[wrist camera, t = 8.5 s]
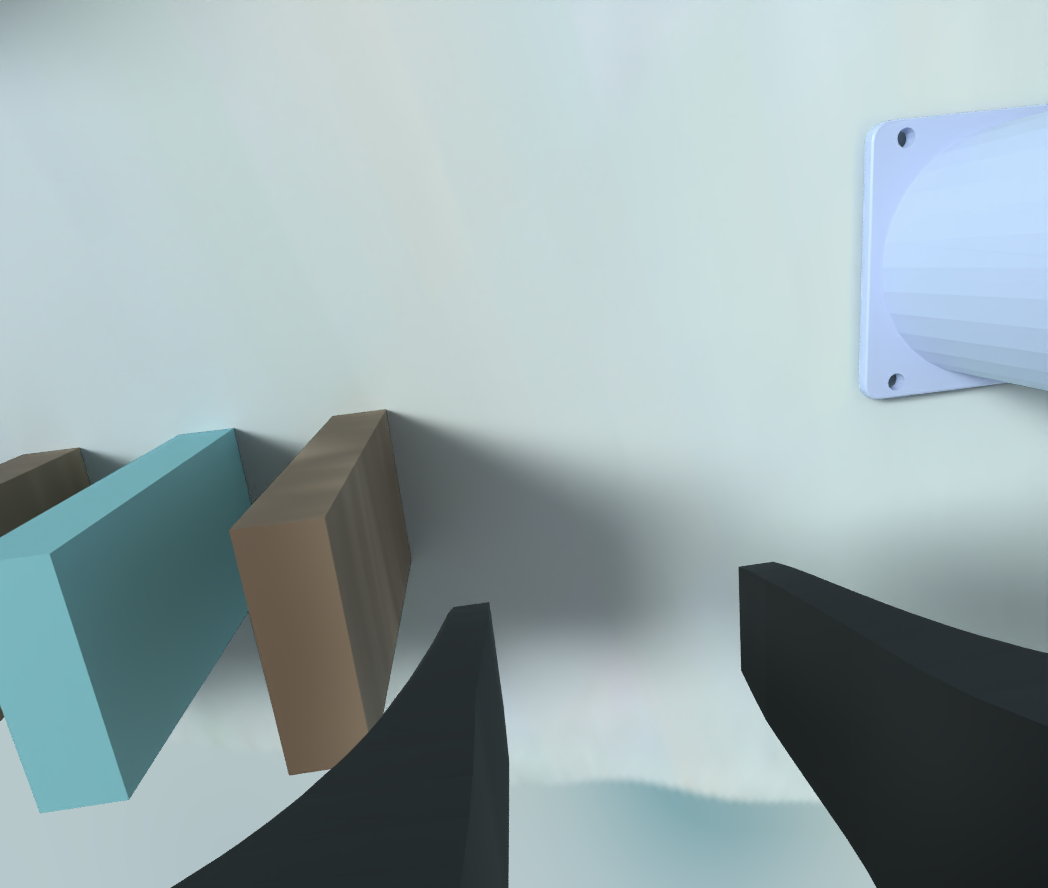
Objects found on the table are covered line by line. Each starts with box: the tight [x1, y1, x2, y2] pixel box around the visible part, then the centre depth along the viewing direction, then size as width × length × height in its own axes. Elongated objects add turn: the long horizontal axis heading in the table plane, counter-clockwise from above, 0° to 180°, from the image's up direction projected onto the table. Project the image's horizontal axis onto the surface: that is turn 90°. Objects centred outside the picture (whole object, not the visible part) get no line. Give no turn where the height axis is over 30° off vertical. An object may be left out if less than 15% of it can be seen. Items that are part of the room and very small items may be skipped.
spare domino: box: [0, 428, 251, 813], centre depth 16 cm, size 2×5×9 cm, turn 6°
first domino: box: [229, 410, 411, 775], centre depth 16 cm, size 2×5×9 cm, turn 7°
